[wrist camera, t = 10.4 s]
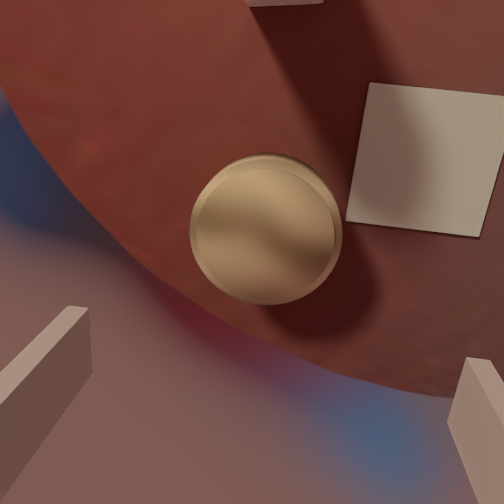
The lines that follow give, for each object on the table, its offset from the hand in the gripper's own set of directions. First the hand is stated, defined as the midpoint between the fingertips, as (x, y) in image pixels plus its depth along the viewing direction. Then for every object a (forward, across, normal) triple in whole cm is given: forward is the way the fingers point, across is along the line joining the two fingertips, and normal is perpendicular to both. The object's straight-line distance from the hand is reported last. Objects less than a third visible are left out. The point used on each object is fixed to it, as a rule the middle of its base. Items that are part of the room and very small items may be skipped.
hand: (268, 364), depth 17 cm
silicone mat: (+29, -11, -3) cm, 31 cm away
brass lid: (+23, +2, +2) cm, 23 cm away
